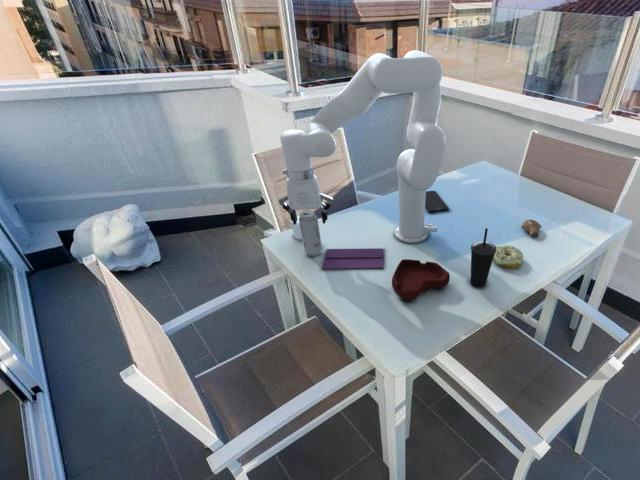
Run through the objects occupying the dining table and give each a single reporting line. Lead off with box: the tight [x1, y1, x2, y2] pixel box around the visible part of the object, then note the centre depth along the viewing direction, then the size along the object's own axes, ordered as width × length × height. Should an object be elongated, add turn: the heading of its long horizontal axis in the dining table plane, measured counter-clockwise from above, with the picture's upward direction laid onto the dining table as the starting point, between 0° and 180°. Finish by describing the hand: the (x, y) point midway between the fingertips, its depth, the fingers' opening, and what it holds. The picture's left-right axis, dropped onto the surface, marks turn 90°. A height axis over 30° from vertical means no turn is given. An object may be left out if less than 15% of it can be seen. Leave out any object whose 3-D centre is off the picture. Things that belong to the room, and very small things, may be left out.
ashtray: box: [391, 258, 451, 303], centre depth 120 cm, size 18×16×5 cm
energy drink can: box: [299, 210, 323, 257], centre depth 131 cm, size 6×6×15 cm
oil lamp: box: [520, 218, 542, 238], centre depth 147 cm, size 9×4×8 cm
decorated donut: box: [493, 244, 524, 270], centre depth 132 cm, size 10×11×4 cm
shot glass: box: [289, 214, 303, 241], centre depth 142 cm, size 7×7×7 cm
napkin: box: [322, 248, 384, 270], centre depth 132 cm, size 20×11×1 cm, turn 92°
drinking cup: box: [470, 227, 497, 289], centre depth 117 cm, size 8×8×20 cm
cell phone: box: [425, 190, 450, 214], centre depth 166 cm, size 9×18×1 cm, turn 17°
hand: (310, 221), depth 128 cm, fingers open, 9 cm apart
